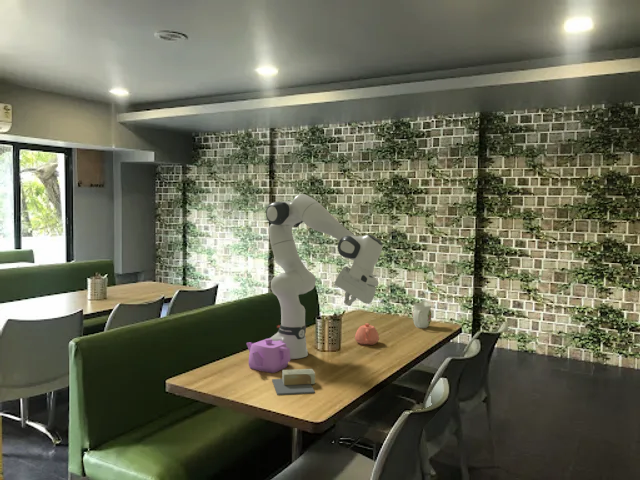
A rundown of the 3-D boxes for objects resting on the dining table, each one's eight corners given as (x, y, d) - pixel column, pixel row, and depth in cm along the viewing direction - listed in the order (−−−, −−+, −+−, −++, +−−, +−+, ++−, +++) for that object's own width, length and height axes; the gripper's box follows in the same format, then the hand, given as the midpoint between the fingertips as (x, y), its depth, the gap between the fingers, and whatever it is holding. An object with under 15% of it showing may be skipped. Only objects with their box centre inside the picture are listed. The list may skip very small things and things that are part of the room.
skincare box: (312, 379, 207) (281, 380, 205) (312, 368, 207) (282, 369, 205) (315, 384, 201) (283, 385, 199) (315, 373, 201) (283, 374, 199)
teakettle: (291, 372, 217) (292, 343, 217) (251, 374, 213) (251, 345, 212) (283, 360, 234) (284, 333, 233) (245, 362, 229) (246, 335, 229)
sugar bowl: (378, 340, 272) (379, 321, 271) (379, 348, 258) (379, 327, 258) (355, 339, 273) (355, 320, 273) (354, 346, 259) (354, 326, 259)
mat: (306, 379, 209) (306, 377, 209) (314, 393, 193) (314, 391, 193) (272, 380, 206) (272, 379, 206) (277, 395, 190) (277, 393, 190)
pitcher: (408, 329, 299) (409, 305, 298) (415, 323, 315) (416, 300, 315) (427, 331, 295) (428, 307, 294) (433, 325, 311) (434, 302, 310)
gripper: (339, 263, 219) (326, 293, 220) (371, 281, 204) (357, 313, 205) (349, 266, 223) (336, 295, 224) (381, 284, 208) (368, 315, 209)
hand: (347, 304), depth 214 cm, fingers closed
